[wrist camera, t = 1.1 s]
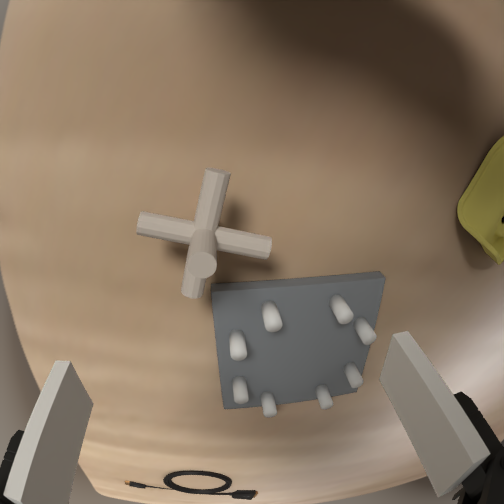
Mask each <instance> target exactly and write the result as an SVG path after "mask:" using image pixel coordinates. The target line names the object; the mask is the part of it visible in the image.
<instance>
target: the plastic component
mask: <svg viewBox="0 0 504 504" xmlns="http://www.w3.org/2000/svg"><path fill="white" fill-rule="evenodd" d="M457 213H458V218H459V221H460V223H461V224H462V226H463V227H464V229H465V230H466V231H468V232H469V233H470V234H471V235H472V236H473V237H474V238H475V239H476V240H477V241H478V242H479V243H480V244H481V246H482V247H483V249H484V251H485V253H487V254H488V255H489V256H490V257H491V258H492V259H493V260H494V261H495V262H496V263H497V264H498V265H500V264H501V263H502V262H503V261H504V221H503V223H502V222H501V219H502V217H503V216H504V136H503V137H501V138H500V139H499V140H498V141H497V142H496V143H495V144H494V146H493V147H492V148H491V150H490V151H489V152H488V154H487V156H486V157H485V159H484V161H483V163H482V164H481V166H480V168H479V169H478V171H477V173H476V174H475V176H474V178H473V179H472V181H471V183H470V184H469V186H468V187H467V189H466V191H465V192H464V194H463V195H462V197H461V198H460V200H459V203H458V206H457Z"/></svg>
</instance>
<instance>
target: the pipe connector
mask: <svg viewBox="0 0 504 504" xmlns="http://www.w3.org/2000/svg"><path fill="white" fill-rule="evenodd" d="M230 175H231V173H229V172H227V171H225V170H221V169H216V168H206V169H205V173H204V177H203V182H202V186H201V191H200V195H199V200H198V205H197V209H196V214H195V219H194V221H191V220H186V219H181V218H175V217H170V216H165V215H160V214H155V213H150V212H145V211H141V213H140V215H139V219H138V223H137V235H142V236H147V237H152V238H157V239H162V240H167V241H172V242H177V243H182V244H188V245H189V249H188V254H187V259H186V265H185V270H184V276H183V281H182V287H181V292H182V294H183V295H185V296H186V297H189V298H200V297H202V295H203V291H204V287H205V282H206V278H208V277H210V276H211V275H213V274H214V272H215V271H216V267H217V250H218V251H224V252H229V253H234V254H239V255H244V256H249V257H255V258H260V259H265V260H266V259H267V258H268V257H269V254H270V251H271V246H272V239H271V237H269V236H264V235H259V234H255V233H250V232H245V231H240V230H235V229H230V228H225V227H220V226H218V225H219V220H220V216H221V212H222V208H223V204H224V200H225V196H226V191H227V187H228V183H229V179H230Z"/></svg>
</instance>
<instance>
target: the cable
mask: <svg viewBox="0 0 504 504" xmlns="http://www.w3.org/2000/svg"><path fill="white" fill-rule="evenodd" d="M181 475H205V476H211V477H216V478H219V479H222V480H224V481H225V482H226V484H225V485H223V486H222V487H219V488H215V489H205V490H201V489H190V488H185V487H181V486H179V485H176V484H175V483H173V482H172V481H171V479H172V478H173V477H176V476H181ZM163 481H164V483H165V485H167V486H168V487H170V488H172V490H177V491H181V492H185V493H192V494H209V495H232V498H236V499H248V500H251V499H252V498H254V497H256V495H257V494H258V492H257V491H255V490H237V491H235V492H233V493H216V492H221V491H224V490H226V489H228V488H230V486H231V483H232V481H231V479H230V478H228V477H227V476H224V475H221V474H217V473H212V472H203V471H178V472H173V473H170V474H168V475H166V477H165V478H164V479H163ZM125 484H126V485H130V486H132V487H137V488H145V487H152V488H160V487H153V486H146V485H145V484H141V483H136V482H131V481H125ZM161 489H167V488H161Z"/></svg>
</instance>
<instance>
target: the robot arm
mask: <svg viewBox="0 0 504 504" xmlns="http://www.w3.org/2000/svg"><path fill="white" fill-rule="evenodd" d="M379 380H380V382H381V384H382V386H383V388H384V389H385V391H386V393H387V395H388V397H389V399H390V401H391V403H392V405H393V407H394V409H395V410H396V412H397V414H398V416H399V418H400V420H401V422H402V424H403V426H404V428H405V430H406V432H407V434H408V436H409V438H410V440H411V442H412V444H413V446H414V448H415V450H416V452H417V454H418V456H419V458H420V461H421V463H422V465H423V467H424V469H425V471H426V473H427V475H428V477H429V480H430V482H431V483H432V486H433V488H434V490H435V493H436V495H437V497H440V496H442V495H444V494H446V493H448V492H450V491H452V490H454V489H455V488H456V487H457V486H458V485H460V484H461V483H462V485H463V488H462V489H461V490H459V491H458V492H457V493H456V494H455V495H454V497H453V499H452V500H455V499H456V498H457V497H459V496H460V497H459V499H458V504H504V447H503V446H502V444H501V443H500V442H499V440H498V438H497V437H496V435H495V434H494V432H493V431H492V429H491V427H490V426H489V424H488V423H487V421H486V420H485V418H483V415H482V414H481V412H480V411H478V408H477V406H476V405H475V404H474V402H473V401H472V399H471V398H469V397H468V396H467V395H465V394H464V393H463V392H459V393H457V394H454V395H453V394H452V392H451V391H450V389H449V388H448V386H447V385H446V383H445V382H444V380H443V379H442V378H441V376H440V375H439V373H438V372H437V370H436V369H435V368H434V366H433V365H432V363H431V362H430V360H429V359H428V358H427V356H426V355H425V354H424V352H423V351H422V349H421V348H420V347H419V345H418V344H417V343H416V341H415V340H414V339H413V337H412V336H411V335H410V333H409V332H408V331H405V332H401V333H396V334H393V335H392V338H391V342H390V345H389V349H388V352H387V356H386V359H385V362H384V366H383V369H382V372H381V375H380V378H379ZM92 407H93V402H92V400H91V398H90V397H89V395H88V393H87V391H86V390H85V388H84V386H83V384H82V382H81V380H80V379H79V377H78V375H77V373H76V371H75V369H74V367H73V365H72V363H71V361H58V360H56V361H55V363H54V365H53V367H52V370H51V372H50V374H49V376H48V378H47V380H46V382H45V384H44V387H43V389H42V391H41V393H40V396H39V398H38V400H37V402H36V405H35V407H34V410H33V412H32V414H31V417H30V419H29V422H28V424H27V427H26V429H25V431H21V430H18V431H17V432H16V433H15V434H14V436H13V437H12V438H11V440H10V442H9V445H8V448H7V452H6V453H5V456H4V460H3V461H2V464H1V467H0V504H69V499H70V494H71V490H72V485H73V480H74V476H75V471H76V467H77V463H78V459H79V455H80V451H81V447H82V443H83V439H84V435H85V432H86V428H87V425H88V421H89V417H90V414H91V411H92Z"/></svg>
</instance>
